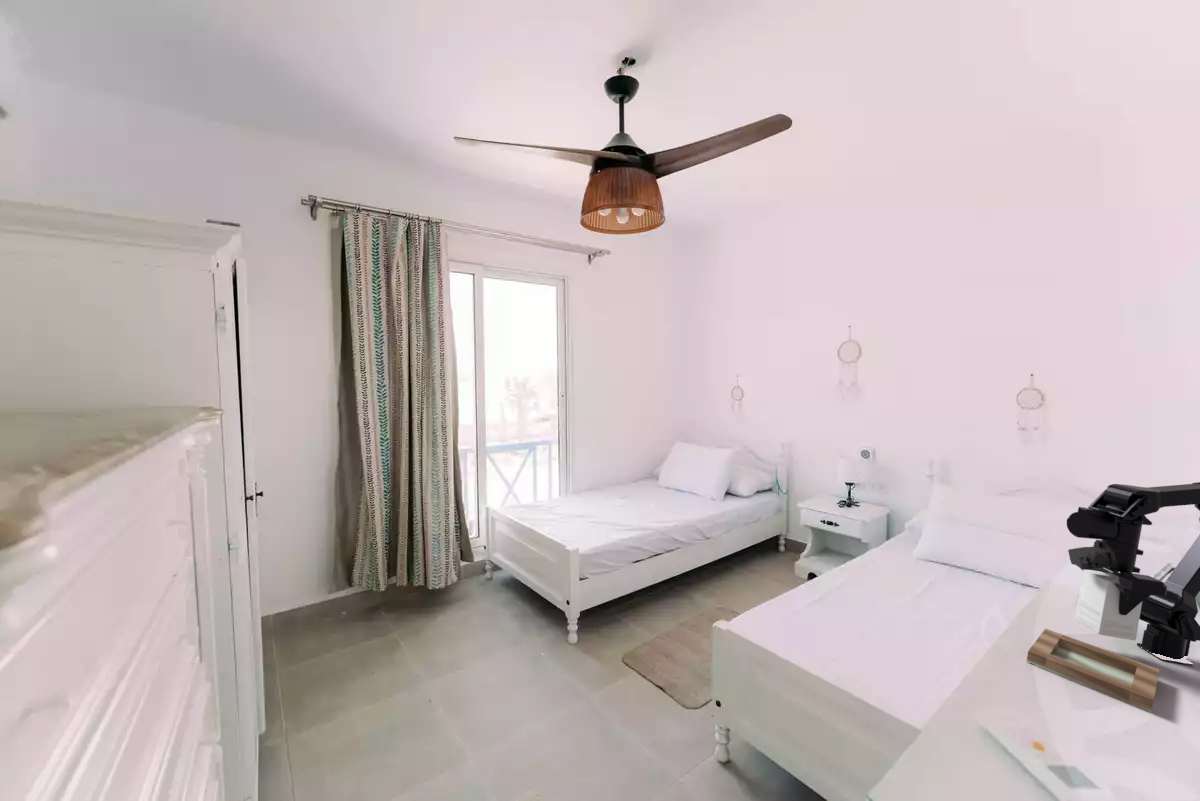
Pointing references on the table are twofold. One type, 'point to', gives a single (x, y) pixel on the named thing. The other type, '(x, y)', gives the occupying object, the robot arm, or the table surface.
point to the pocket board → (1096, 668)
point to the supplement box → (1105, 606)
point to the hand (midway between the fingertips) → (1108, 606)
